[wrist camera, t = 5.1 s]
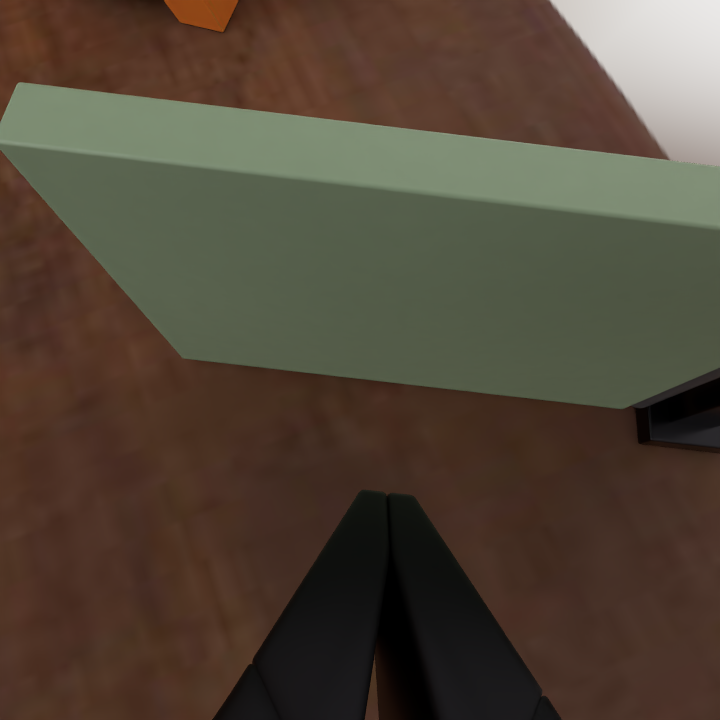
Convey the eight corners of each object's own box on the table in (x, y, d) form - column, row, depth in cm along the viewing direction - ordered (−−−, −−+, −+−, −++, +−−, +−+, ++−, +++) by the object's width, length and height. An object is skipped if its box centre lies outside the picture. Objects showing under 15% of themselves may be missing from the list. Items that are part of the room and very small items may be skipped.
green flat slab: (644, 329, 18) (982, 107, 9) (652, 412, 17) (1043, 266, 8) (201, 277, 18) (53, -6, 9) (182, 359, 17) (-11, 140, 8)
